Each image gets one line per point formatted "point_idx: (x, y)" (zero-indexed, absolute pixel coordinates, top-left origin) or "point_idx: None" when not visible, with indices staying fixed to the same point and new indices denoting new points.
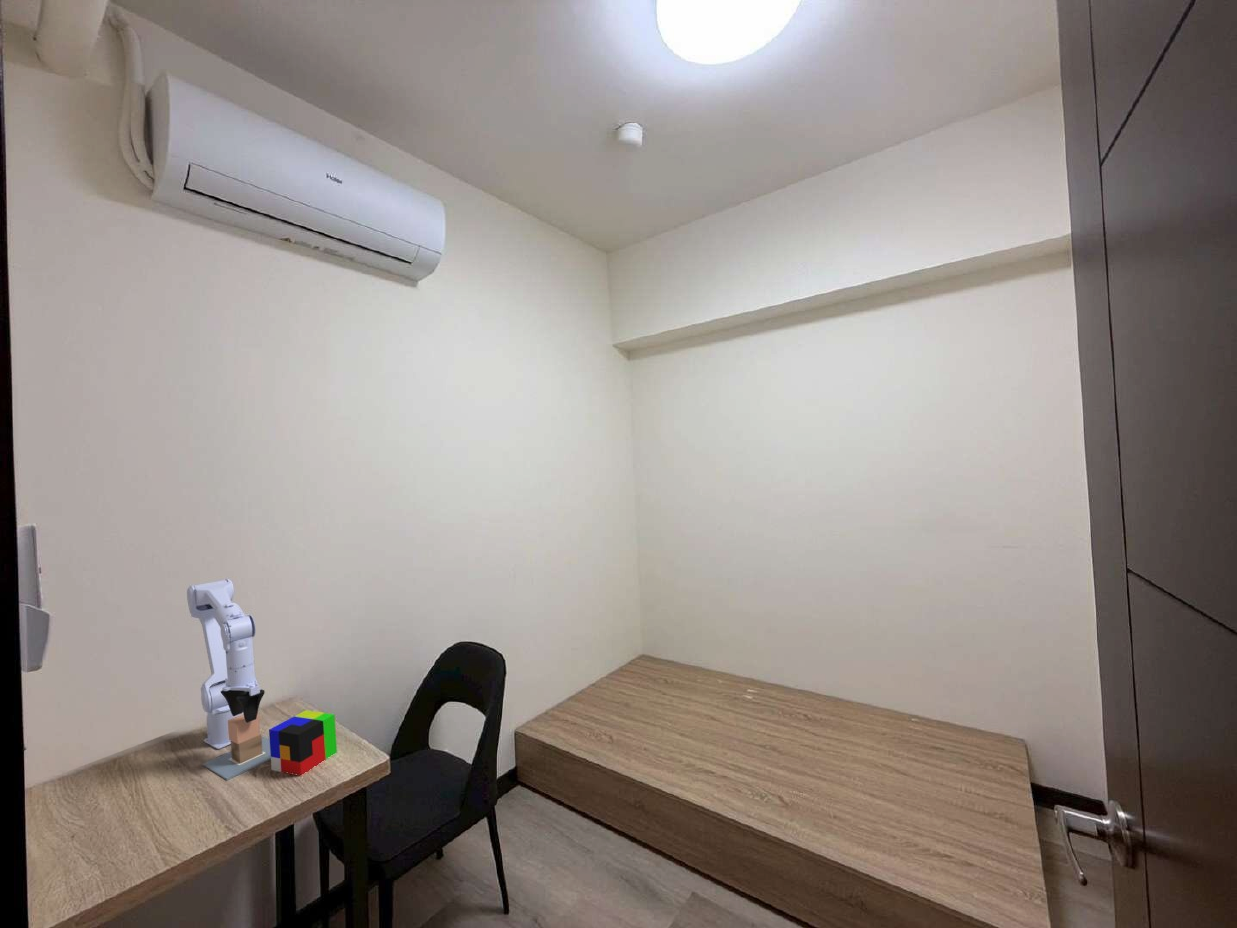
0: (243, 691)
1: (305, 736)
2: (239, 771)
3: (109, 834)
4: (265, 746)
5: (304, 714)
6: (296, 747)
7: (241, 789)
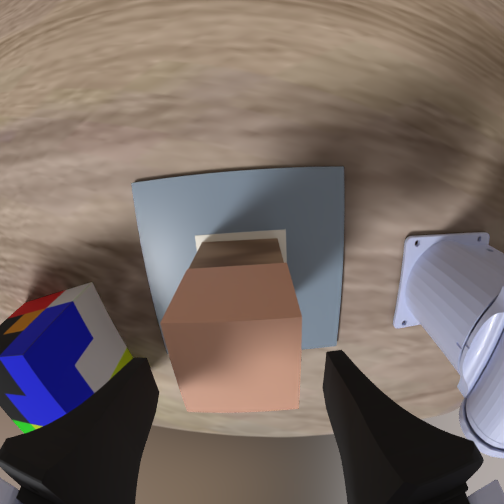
0: (351, 501)
1: None
2: (145, 222)
3: None
4: None
5: None
6: None
7: (52, 197)
